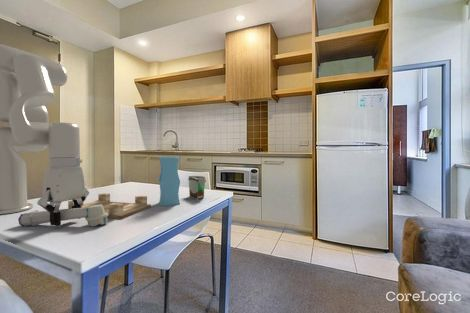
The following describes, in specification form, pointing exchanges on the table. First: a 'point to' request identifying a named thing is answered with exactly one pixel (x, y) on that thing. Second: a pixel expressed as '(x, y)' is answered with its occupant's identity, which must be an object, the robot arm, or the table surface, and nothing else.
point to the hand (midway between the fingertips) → (66, 220)
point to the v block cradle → (117, 206)
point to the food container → (196, 187)
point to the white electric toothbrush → (67, 216)
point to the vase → (169, 181)
